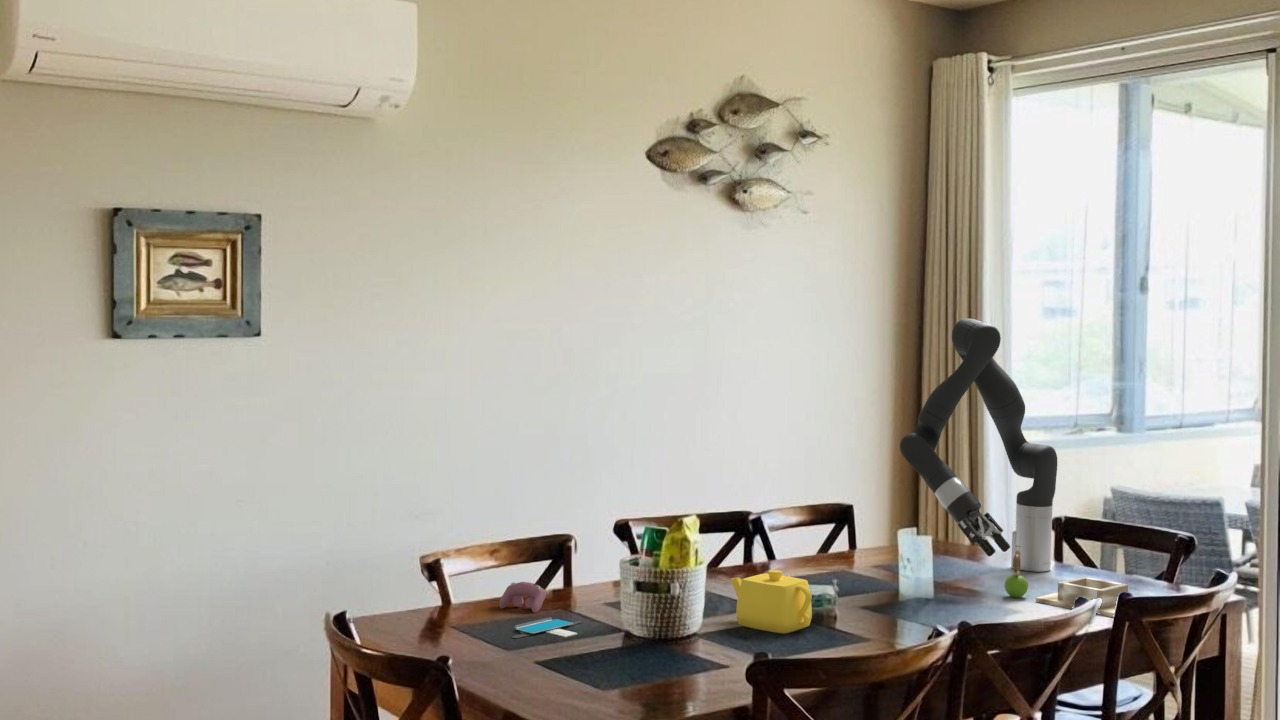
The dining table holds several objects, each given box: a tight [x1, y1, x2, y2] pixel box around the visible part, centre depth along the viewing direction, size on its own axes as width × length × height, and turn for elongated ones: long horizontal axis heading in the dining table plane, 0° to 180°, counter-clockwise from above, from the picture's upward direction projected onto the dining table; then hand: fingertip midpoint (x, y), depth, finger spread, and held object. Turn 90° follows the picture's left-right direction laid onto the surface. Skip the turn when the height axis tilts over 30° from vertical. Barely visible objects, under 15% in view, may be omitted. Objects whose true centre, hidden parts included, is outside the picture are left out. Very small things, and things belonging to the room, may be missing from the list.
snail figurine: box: [1004, 545, 1029, 598], centre depth 324 cm, size 5×6×12 cm
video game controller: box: [498, 581, 547, 614], centre depth 302 cm, size 10×5×7 cm, turn 66°
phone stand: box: [512, 616, 583, 639], centre depth 283 cm, size 20×12×2 cm, turn 139°
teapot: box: [730, 569, 813, 634], centre depth 292 cm, size 20×12×12 cm, turn 51°
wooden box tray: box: [1035, 576, 1129, 618], centre depth 317 cm, size 20×16×5 cm
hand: (1000, 552), depth 327 cm, fingers open, 8 cm apart
